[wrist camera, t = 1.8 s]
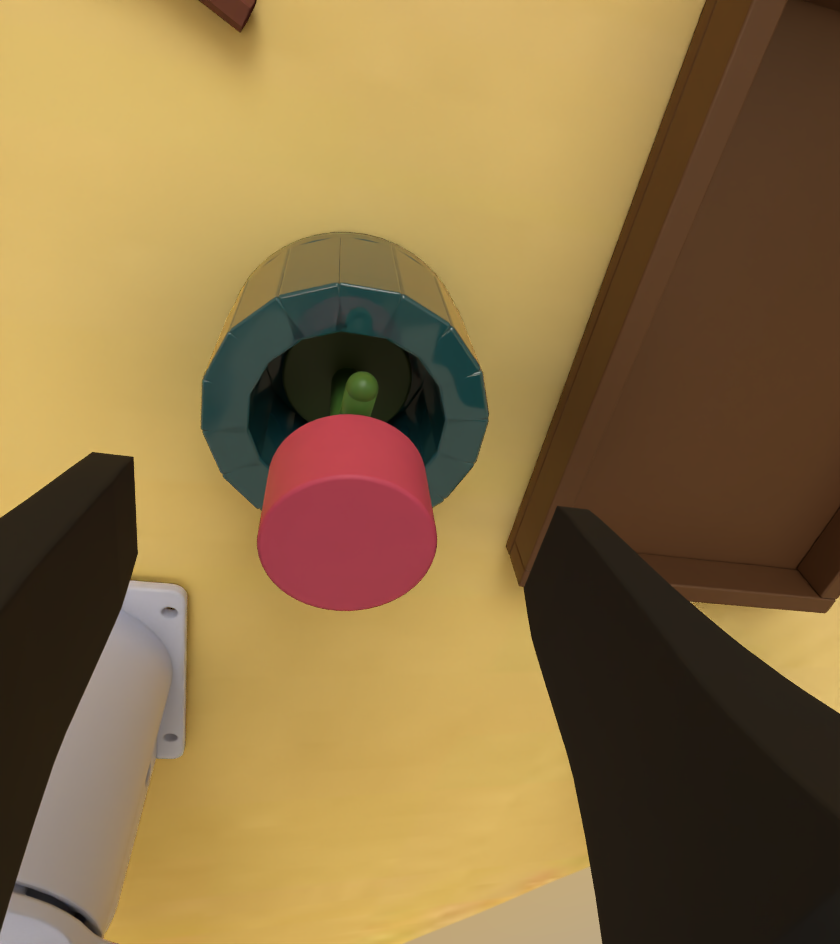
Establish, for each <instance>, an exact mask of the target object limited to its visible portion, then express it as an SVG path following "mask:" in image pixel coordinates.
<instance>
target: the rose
mask: <svg viewBox="0 0 840 944" xmlns="http://www.w3.org/2000/svg"><path fill="white" fill-rule="evenodd" d="M282 381H283V387H284V390H285V393H286V396H287V398H288V400H289V402H290V403H291V405H292V406H293V408H294V409H295V410H296V411H297V413H298V414H299V415H300V416H302V417H303V418H304V419H305V420H306V421H308V422H309V423H307V424H305V425H303V426H301V427H300V428H298V429H297V430H295V431H294V432H293V433H291V434H290V435H289V436H288V437H287V438H286V439H285V440H284V441H283V442H282V443H281V445H280V446H279V447H278V449H277V450H276V452H275V454H274V456H273V458H272V461H271V463H270V467H269V473H268V478H267V484H266V490H265V495H264V501H263V507H262V513H261V518H260V524H259V530H258V536H257V549H258V555H259V558H260V561H261V564H262V566H263V568H264V570H265V571H266V573H267V575H268V576H269V578H270V579H271V580H272V581H273V583H275V584H276V585H277V586H278V587H279V588H280V589H281V590H282V591H284V592H285V593H286V594H288V595H289V596H291V597H293V598H294V599H296V600H298V601H301V602H303V603H305V604H308V605H311V606H314V607H318V608H322V609H328V610H336V611H354V610H363V609H369V608H373V607H377V606H380V605H383V604H386V603H389V602H391V601H393V600H395V599H397V598H399V597H401V596H402V595H404V594H406V593H407V592H408V591H410V590H411V589H412V588H413V587H415V586H416V585H417V584H418V583H419V582H420V581H421V579H422V578H423V577H424V576H425V574H426V573H427V571H428V569H429V568H430V566H431V564H432V561H433V559H434V556H435V553H436V548H437V533H436V526H435V521H434V515H433V510H432V504H431V498H430V493H429V487H428V482H427V476H426V471H425V466H424V463H423V459H422V457H421V455H420V453H419V451H418V450H417V448H416V447H415V445H414V444H413V443H412V442H411V440H410V439H409V438H408V437H407V436H406V435H404V434H403V433H402V432H401V431H399V430H398V429H396V428H395V427H393V426H391V425H390V424H388V423H387V422H388V421H389V420H391V419H392V418H393V417H394V416H395V415H396V414H397V413H398V412H399V411H400V409H401V408H402V407H403V405H404V403H405V402H406V400H407V397H408V395H409V392H410V389H411V383H412V370H411V364H410V358H409V353H408V352H406V351H405V350H403V349H401V348H400V347H398V346H396V345H395V344H393V343H391V342H390V341H388V340H386V339H384V338H378V337H371V336H365V335H359V334H353V333H346V332H338V333H333V334H328V335H324V336H319V337H314V338H310V339H305V340H302V341H300V342H299V343H297V344H296V345H294V346H293V347H292V348H290V349H289V350H287V351H286V352H285V356H284V362H283V367H282Z"/></svg>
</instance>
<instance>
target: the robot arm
mask: <svg viewBox="0 0 840 944" xmlns="http://www.w3.org/2000/svg"><path fill="white" fill-rule="evenodd" d="M137 554H138V550H137V527H136V504H135V481H134V458H133V457H130V456H121V455H113V454H104V453H95V452H92V453H91V454H89V455H88V456H86V457H85V458H84V459H82V460H81V461H79V462H78V463H76V464H75V465H74V466H72V467H71V468H69V469H68V470H67V471H65V472H64V473H63V474H61V475H60V476H58V477H57V478H56V479H54V480H53V481H52V482H50V483H49V484H48V485H46V486H45V487H43V488H42V489H41V490H39V491H38V492H37V493H35V494H34V495H32V496H31V497H30V498H28V499H27V500H26V501H24V502H23V503H21V504H20V505H18V506H17V507H15V508H14V509H13V510H11V511H10V512H8V513H7V514H5V515H4V516H3V517H1V518H0V944H118V943H114V942H111V941H108V940H106V939H103V937H104V934H105V933H106V931H107V929H108V927H109V925H110V923H111V921H112V919H113V917H114V914H115V912H116V909H117V906H118V902H119V899H120V895H121V891H122V887H123V883H124V879H125V876H126V872H127V868H128V864H129V860H130V856H131V853H132V849H133V845H134V841H135V837H136V833H137V829H138V826H139V822H140V818H141V814H142V810H143V806H144V802H145V799H146V795H147V791H148V787H149V783H150V779H151V776H152V772H153V768H154V764H155V760H156V758H157V759H175V758H178V757H180V756H182V755H183V753H184V749H185V738H186V667H187V592H186V591H185V589H184V588H183V587H181V586H179V585H176V584H170V583H157V582H145V581H132V580H130V579H131V575H132V572H133V568H134V565H135V561H136V558H137ZM524 593H525V600H526V607H527V614H528V620H529V625H530V631H531V637H532V641H533V644H534V648H535V651H536V655H537V658H538V661H539V664H540V668H541V671H542V674H543V678H544V681H545V684H546V687H547V691H548V694H549V697H550V700H551V703H552V707H553V710H554V713H555V716H556V720H557V723H558V726H559V729H560V732H561V736H562V739H563V742H564V745H565V748H566V752H567V755H568V759H569V763H570V767H571V771H572V774H573V778H574V783H575V788H576V793H577V798H578V803H579V808H580V813H581V818H582V823H583V828H584V833H585V838H586V844H587V850H588V856H589V861H590V867H591V873H592V878H593V884H594V890H595V896H596V903H597V909H598V917H599V924H600V930H601V937H602V944H840V714H839V713H838V712H836V711H835V710H833V709H832V708H830V707H829V706H827V705H825V704H824V703H822V702H821V701H819V700H818V699H816V698H815V697H813V696H811V695H810V694H808V693H807V692H805V691H804V690H802V689H801V688H800V687H798V686H797V685H795V684H794V683H792V682H791V681H789V680H788V679H786V678H785V677H784V676H782V675H781V674H780V673H778V672H777V671H775V670H774V669H773V668H771V667H770V666H769V665H767V664H766V663H765V662H763V661H762V660H761V659H759V658H758V657H757V656H755V655H754V654H752V653H751V652H750V651H748V650H747V649H746V648H744V647H743V646H742V645H741V644H739V643H738V642H737V641H736V640H734V639H733V638H732V637H731V636H729V635H728V634H727V633H726V632H724V631H723V630H722V629H721V628H720V627H718V626H717V625H716V624H715V623H714V622H713V621H711V620H710V619H709V618H708V617H707V616H705V615H704V614H703V613H702V612H701V611H699V610H698V609H697V608H696V607H695V606H694V605H693V604H691V603H690V602H689V601H688V600H687V599H686V598H685V597H684V596H682V595H681V594H680V593H679V592H678V591H677V590H676V589H675V588H674V587H672V586H671V585H670V584H669V583H668V582H667V581H666V580H665V579H664V578H663V577H662V576H661V575H659V574H658V573H657V572H656V571H655V570H654V569H653V568H652V567H651V566H650V565H649V564H648V563H647V562H646V561H645V560H644V559H642V558H641V557H640V556H639V555H638V554H637V553H636V552H635V551H634V550H633V549H632V548H631V547H630V546H629V545H628V544H627V543H626V542H625V541H624V540H622V539H621V538H620V537H619V536H618V535H617V534H616V533H615V532H614V531H613V530H612V529H611V528H610V527H609V526H607V525H606V524H605V523H604V522H603V521H602V520H601V519H600V518H598V517H597V516H596V515H595V514H594V513H592V512H591V511H590V510H589V509H580V508H571V507H563V506H557V508H556V510H555V512H554V515H553V517H552V520H551V522H550V525H549V527H548V530H547V532H546V534H545V537H544V539H543V542H542V544H541V547H540V549H539V552H538V554H537V557H536V559H535V561H534V564H533V566H532V569H531V571H530V574H529V576H528V579H527V581H526V584H525V586H524ZM167 607H171V608H174V609H173V610H172V609H168V608H167Z"/></svg>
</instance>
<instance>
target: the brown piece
mask: <svg viewBox="0 0 840 944" xmlns="http://www.w3.org/2000/svg"><path fill="white" fill-rule="evenodd" d="M199 1H200V2H202V3H203V4H204V5H206V6H207V7H208V8H209V9H211V10H212V11H213V12H215V13H216V14H217V15H218V16H220V17H221V18H222V19H223V20H225V21H226V22H227V23H229V24H230V25H231V26H232V27H234V28H235V29H236V30H237V31H239V32H240V33H241V31H242V29H243V28H244V26H245V25H246V23H247V21H248V19H249V17H250V15H251V13H252V11H253V9H254V7H255V4H256V1H257V0H199Z"/></svg>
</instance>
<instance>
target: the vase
mask: <svg viewBox="0 0 840 944" xmlns="http://www.w3.org/2000/svg"><path fill="white" fill-rule="evenodd" d="M338 332H346V333H353V334H359V335H365V336H371V337H378V338H384V339H386V340H388V341H390V342H391V343H393V344H395V345H396V346H398V347H400V348H401V349H403V350H405V351H406V352H408V353H409V358H410V364H411V370H412V383H411V389H410V392H409V395H408V397H407V400H406V402H405V403H404V405H403V407H402V408H401V409H400V411H399V412H398V413H397V414H396V415H395V416H394V417H393V418H392V419H391V420H389V421H388V422H387V423H388V424H390V425H391V426H393V427H395V428H396V429H398V430H399V431H401V432H402V433H403V434H404V435H406V436H407V437H408V438H409V439H410V440H411V442H412V443H413V444H414V445H415V447H416V448H417V450H418V451H419V453H420V455H421V457H422V459H423V463H424V466H425V471H426V476H427V482H428V487H429V493H430V498H431V504H432V508H433V507H435V506H436V505H438V504H440V503H442V502H443V501H444V499H446V498H447V497H448V496H449V495H450V493H451V492H452V491H453V490H454V489H455V488H456V486H457V485H458V484H459V483H460V482H461V480H462V479H463V478H464V477H465V476H466V474H467V473H468V472H469V471H470V470H471V468H472V467H473V465H474V463H475V462H476V461H477V457H478V454H479V451H480V448H481V444H482V441H483V438H484V435H485V431H486V428H487V425H488V422H489V421H488V416H489V411H488V404H487V397H486V390H485V383H484V376H483V371H482V369H481V366H480V364H479V361H478V359H477V356H476V354H475V351H474V349H473V346H472V344H471V341H470V339H469V336H468V334H467V331H466V328H465V326H464V323H463V321H462V318H461V316H460V313H459V311H458V309H457V308H456V306H455V305H454V303H453V300H452V298H451V297H450V295H449V293H448V291H447V289H446V288H445V286H444V285H443V283H442V282H441V281H440V279H439V278H438V277H437V275H436V274H435V273H434V272H433V271H432V270H431V269H430V268H429V267H428V266H427V265H426V264H425V263H424V262H423V261H422V260H420V259H419V258H418V257H416V256H415V255H414V254H412V253H411V252H409V251H407V250H406V249H404V248H402V247H401V246H399V245H397V244H394V243H392V242H389V241H387V240H385V239H382V238H378V237H374V236H370V235H367V234H359V233H351V232H334V233H326V234H319V235H314V236H311V237H307V238H304V239H300V240H298V241H296V242H294V243H291V244H289V245H287V246H285V247H283V248H282V249H280V250H278V251H277V252H275V253H274V254H272V255H271V256H270V257H268V258H267V259H266V260H265V261H264V262H263V263H261V264H260V265H259V266H258V267H257V268H256V270H255V271H254V272H253V273H252V274H251V275H250V277H249V278H248V279H247V281H246V283H245V284H244V286H243V287H242V289H241V290H240V293H239V295H238V297H237V299H236V302H235V304H234V306H233V307H232V309H231V311H230V313H229V315H228V317H227V319H226V322H225V324H224V326H223V329H222V331H221V334H220V336H219V339H218V341H217V344H216V346H215V348H214V351H213V353H212V356H211V358H210V361H209V363H208V366H207V368H206V370H205V373H204V375H203V379H202V395H201V429H202V432H203V435H204V437H205V439H206V441H207V444H208V446H209V448H210V450H211V452H212V455H213V457H214V459H215V461H216V463H217V466H218V468H219V470H220V472H221V473H222V474H223V477H224V478H225V479H226V480H227V481H228V482H229V483H230V484H231V485H232V486H233V487H234V488H235V489H236V490H238V491H239V492H240V493H241V494H242V495H243V496H244V497H245V498H246V499H247V500H248V501H249V502H250V503H251V504H253V505H254V506H255V507H256V508H257V509H259V508H260V510H261V511H262V507H263V501H264V495H265V490H266V484H267V478H268V473H269V467H270V463H271V461H272V458H273V456H274V454H275V452H276V450H277V449H278V447H279V446H280V445H281V443H282V442H283V441H284V440H285V439H286V438H287V437H288V436H289V435H290V434H291V433H293V432H294V431H295V430H297V429H298V428H300V427H301V426H303V425H305V424H307V423H309V422H308V421H306V420H305V419H304V418H303V417H302V416H300V415H299V414H298V413H297V411H296V410H295V409H294V408H293V406H292V405H291V403H290V402H289V400H288V398H287V396H286V393H285V390H284V387H283V381H282V367H283V362H284V356H285V352H286V351H287V350H289V349H290V348H292V347H293V346H294V345H296V344H297V343H299V342H300V341H302V340H305V339H310V338H314V337H319V336H324V335H328V334H333V333H338Z"/></svg>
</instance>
